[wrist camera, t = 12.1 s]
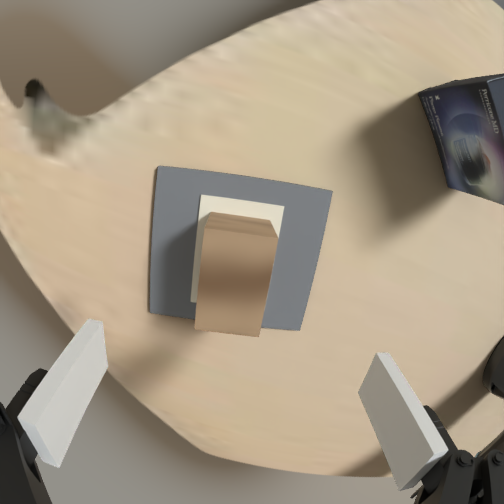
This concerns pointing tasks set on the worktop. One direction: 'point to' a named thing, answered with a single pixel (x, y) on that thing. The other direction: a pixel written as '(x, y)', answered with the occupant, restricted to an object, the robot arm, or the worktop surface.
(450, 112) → the small box
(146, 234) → the worktop surface
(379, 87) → the worktop surface
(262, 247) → the block
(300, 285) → the mat
